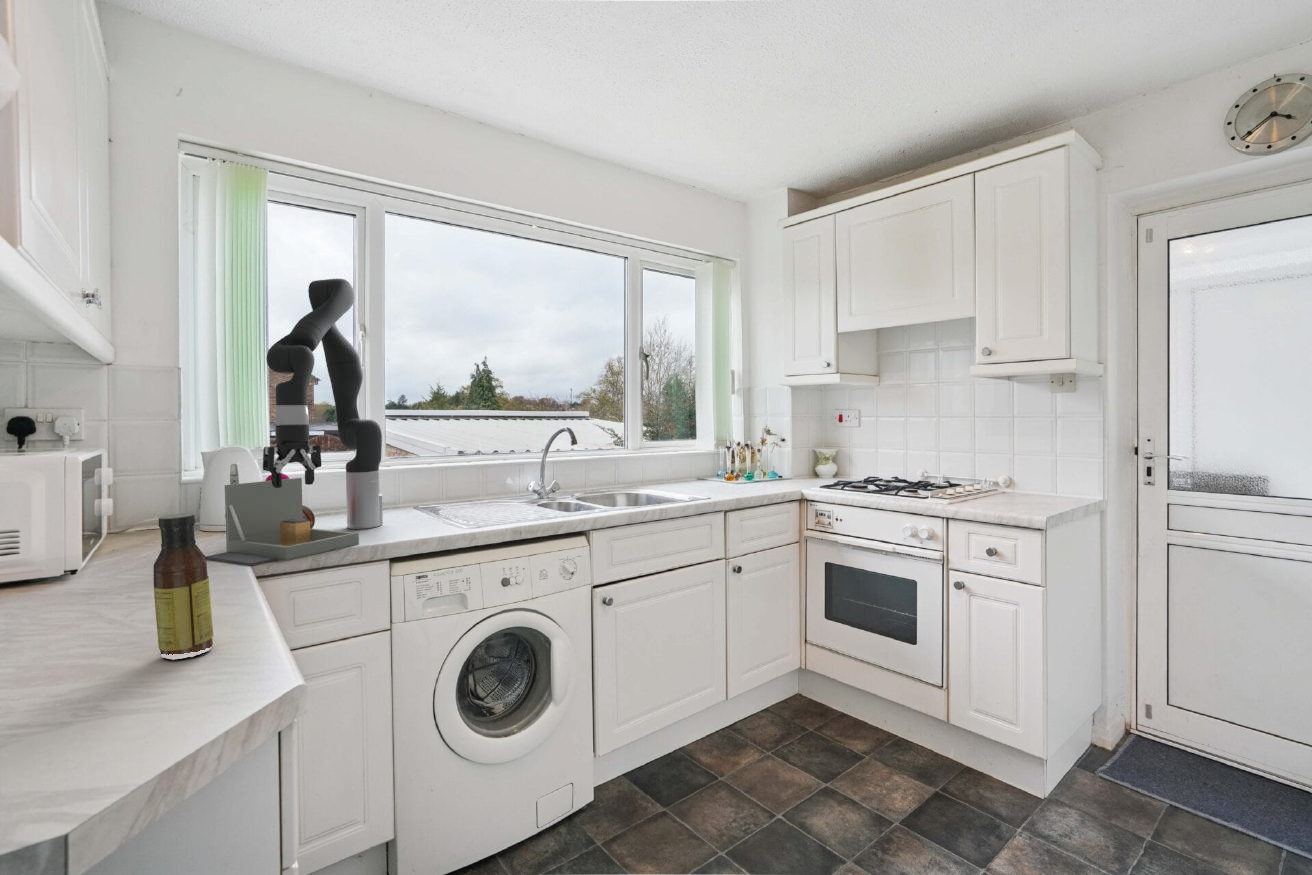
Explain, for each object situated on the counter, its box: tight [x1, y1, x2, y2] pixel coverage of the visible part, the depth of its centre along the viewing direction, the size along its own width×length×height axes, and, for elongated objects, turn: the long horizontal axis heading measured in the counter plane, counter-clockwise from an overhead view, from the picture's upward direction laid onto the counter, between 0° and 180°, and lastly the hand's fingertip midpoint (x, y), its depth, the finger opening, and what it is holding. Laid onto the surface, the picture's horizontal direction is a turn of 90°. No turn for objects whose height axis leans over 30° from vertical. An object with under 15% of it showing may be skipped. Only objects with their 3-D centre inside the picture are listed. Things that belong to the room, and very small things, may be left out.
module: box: [280, 519, 312, 546], centre depth 161 cm, size 4×6×7 cm, turn 65°
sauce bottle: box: [152, 512, 214, 655], centre depth 88 cm, size 7×6×20 cm
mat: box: [205, 551, 278, 567], centre depth 148 cm, size 6×18×1 cm, turn 65°
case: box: [224, 477, 360, 561], centre depth 161 cm, size 20×23×17 cm
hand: (293, 486), depth 160 cm, fingers open, 8 cm apart
